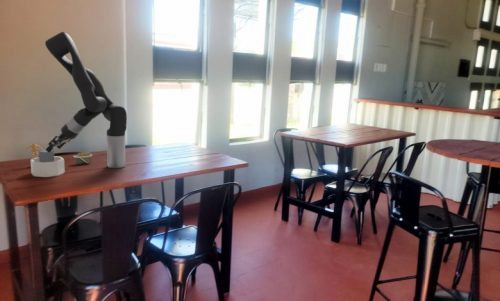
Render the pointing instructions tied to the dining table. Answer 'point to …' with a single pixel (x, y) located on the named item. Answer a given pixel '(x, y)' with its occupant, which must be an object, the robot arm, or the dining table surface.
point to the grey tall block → (46, 156)
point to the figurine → (34, 149)
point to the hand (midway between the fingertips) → (52, 149)
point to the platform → (83, 158)
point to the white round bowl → (47, 167)
